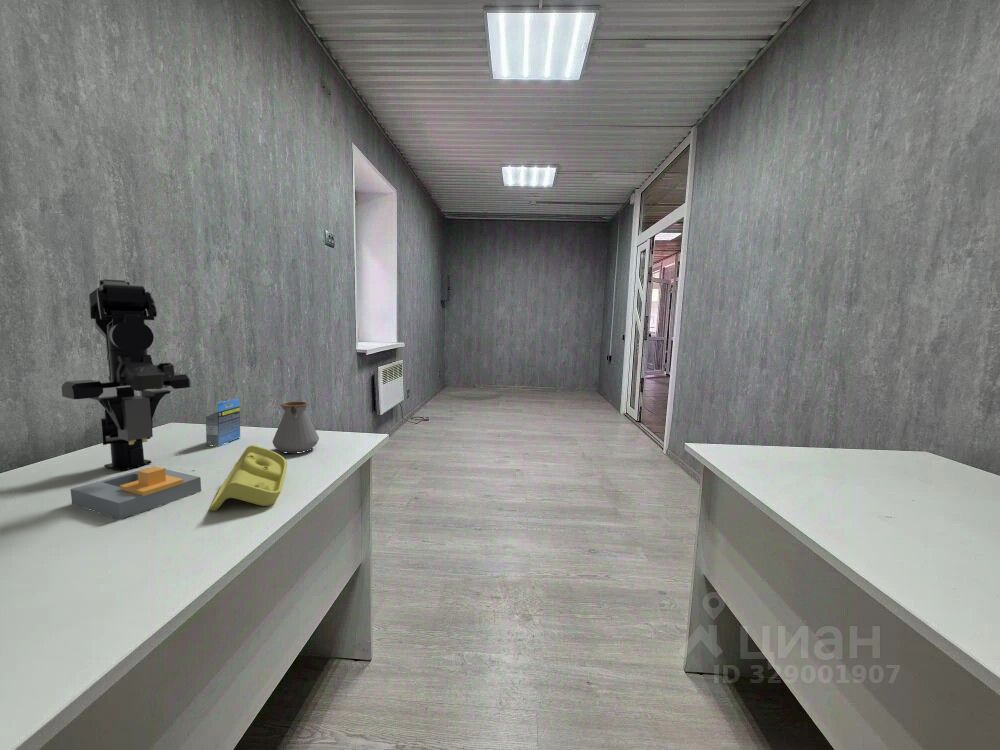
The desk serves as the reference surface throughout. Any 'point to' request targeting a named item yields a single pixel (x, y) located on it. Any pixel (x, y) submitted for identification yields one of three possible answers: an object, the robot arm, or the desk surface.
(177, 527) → the desk surface
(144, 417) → the grey box
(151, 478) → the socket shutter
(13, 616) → the desk surface
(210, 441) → the label tape box
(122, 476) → the socket board
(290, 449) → the coffee pot
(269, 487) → the plastic component
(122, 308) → the robot arm
